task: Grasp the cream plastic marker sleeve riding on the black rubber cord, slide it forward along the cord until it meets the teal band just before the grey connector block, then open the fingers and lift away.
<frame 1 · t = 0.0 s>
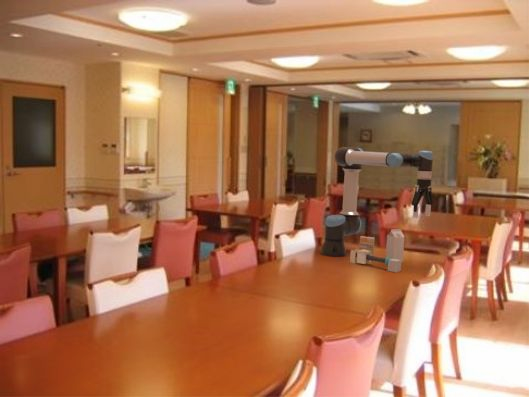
hand: (421, 216, 316), 28 cm above the table, fingers open, 13 cm apart
milk carton: (394, 262, 329), on the table
sleeve: (364, 256, 317), point 4 cm above the table, slide at 0.0 cm
supplement box: (365, 259, 333), on the table
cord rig: (374, 266, 312), on the table
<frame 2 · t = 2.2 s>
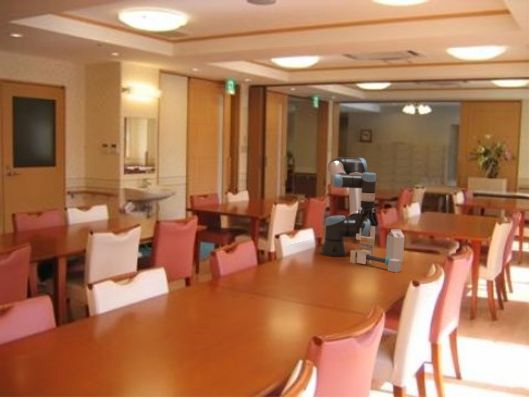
hand: (365, 238, 315), 15 cm above the table, fingers open, 13 cm apart
nothing on the table moved.
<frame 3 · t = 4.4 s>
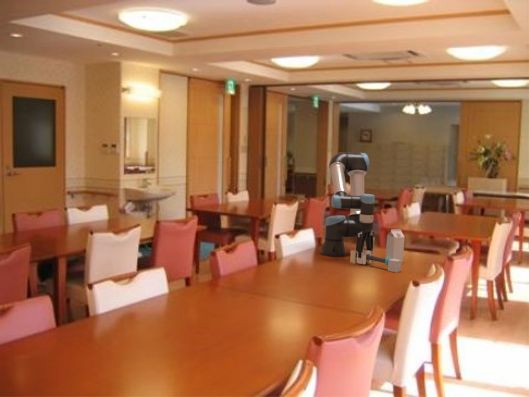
hand: (363, 262, 317), 1 cm above the table, fingers closed on sleeve, 6 cm apart
sleeve: (364, 256, 317), point 4 cm above the table, slide at 0.0 cm, touching gripper
everything else where it was.
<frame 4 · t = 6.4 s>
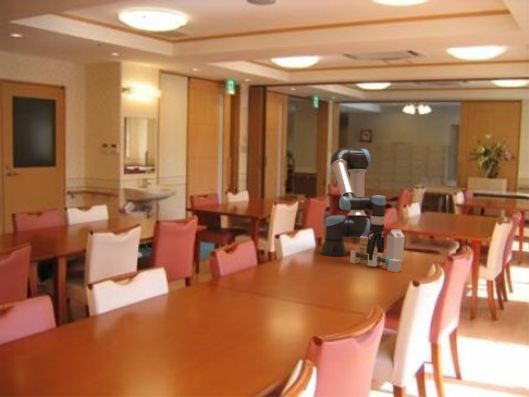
hand: (374, 265, 312), 1 cm above the table, fingers closed on sleeve, 6 cm apart
sleeve: (375, 258, 312), point 4 cm above the table, slide at 7.1 cm, touching gripper
everything else where it was.
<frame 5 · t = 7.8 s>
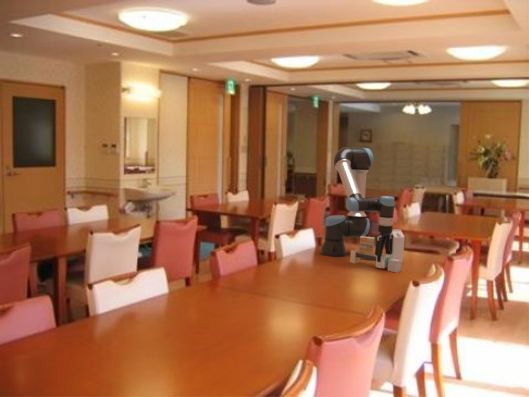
hand: (382, 266, 309), 1 cm above the table, fingers closed on sleeve, 6 cm apart
sleeve: (383, 260, 308), point 4 cm above the table, slide at 12.4 cm, touching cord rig, gripper
everything else where it was.
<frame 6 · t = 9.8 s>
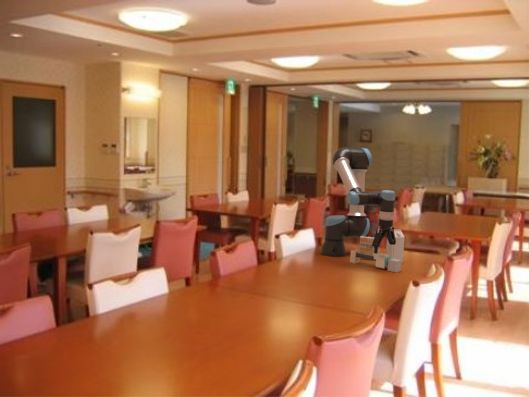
hand: (383, 257, 309), 6 cm above the table, fingers open, 13 cm apart
sleeve: (383, 260, 308), point 4 cm above the table, slide at 12.3 cm
everything else where it was.
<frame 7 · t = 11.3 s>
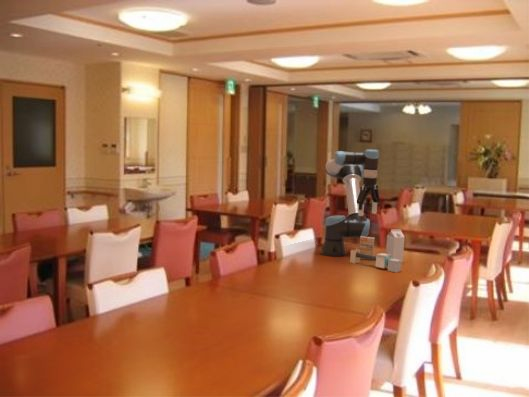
hand: (367, 214, 320), 27 cm above the table, fingers open, 13 cm apart
nothing on the table moved.
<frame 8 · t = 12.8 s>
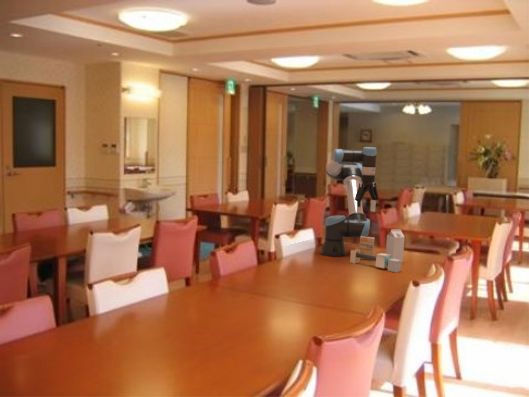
hand: (365, 212, 321), 29 cm above the table, fingers open, 13 cm apart
nothing on the table moved.
at the end: sleeve slide at 12.3 cm; the gripper is holding nothing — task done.
